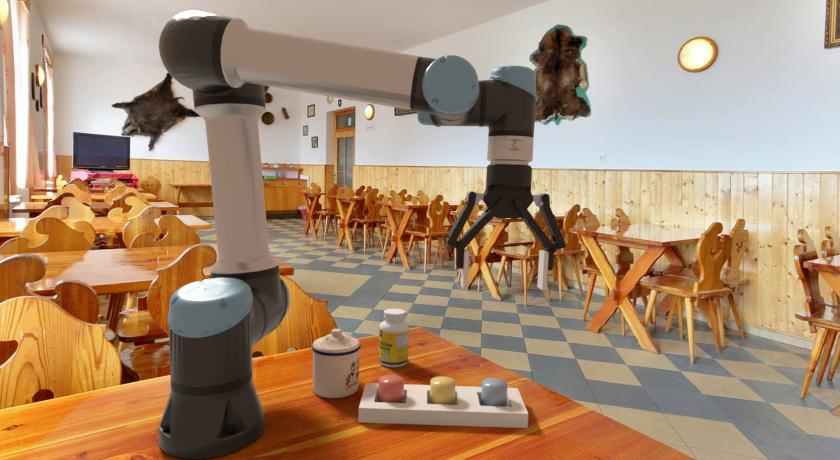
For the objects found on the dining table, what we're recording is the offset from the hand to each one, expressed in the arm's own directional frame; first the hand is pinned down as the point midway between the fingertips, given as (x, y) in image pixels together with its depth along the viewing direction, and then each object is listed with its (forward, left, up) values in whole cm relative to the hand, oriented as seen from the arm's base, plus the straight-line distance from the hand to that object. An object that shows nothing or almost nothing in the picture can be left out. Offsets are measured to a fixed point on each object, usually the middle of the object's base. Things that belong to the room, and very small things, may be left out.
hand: (503, 288), depth 86 cm
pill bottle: (-20, +21, -22) cm, 37 cm away
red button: (-19, -1, -20) cm, 28 cm away
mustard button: (-10, -1, -20) cm, 23 cm away
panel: (-10, -1, -22) cm, 24 cm away
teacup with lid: (-30, +8, -22) cm, 38 cm away
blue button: (-1, -1, -20) cm, 20 cm away
